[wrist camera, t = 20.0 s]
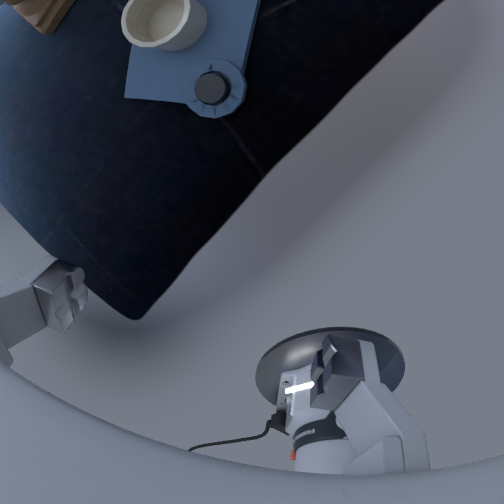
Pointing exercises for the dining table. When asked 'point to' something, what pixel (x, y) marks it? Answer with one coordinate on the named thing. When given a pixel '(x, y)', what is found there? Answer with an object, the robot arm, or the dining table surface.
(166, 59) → the scale
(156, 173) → the dining table surface
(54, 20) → the candle holder
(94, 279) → the dining table surface
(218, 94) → the button
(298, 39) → the dining table surface
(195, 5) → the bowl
